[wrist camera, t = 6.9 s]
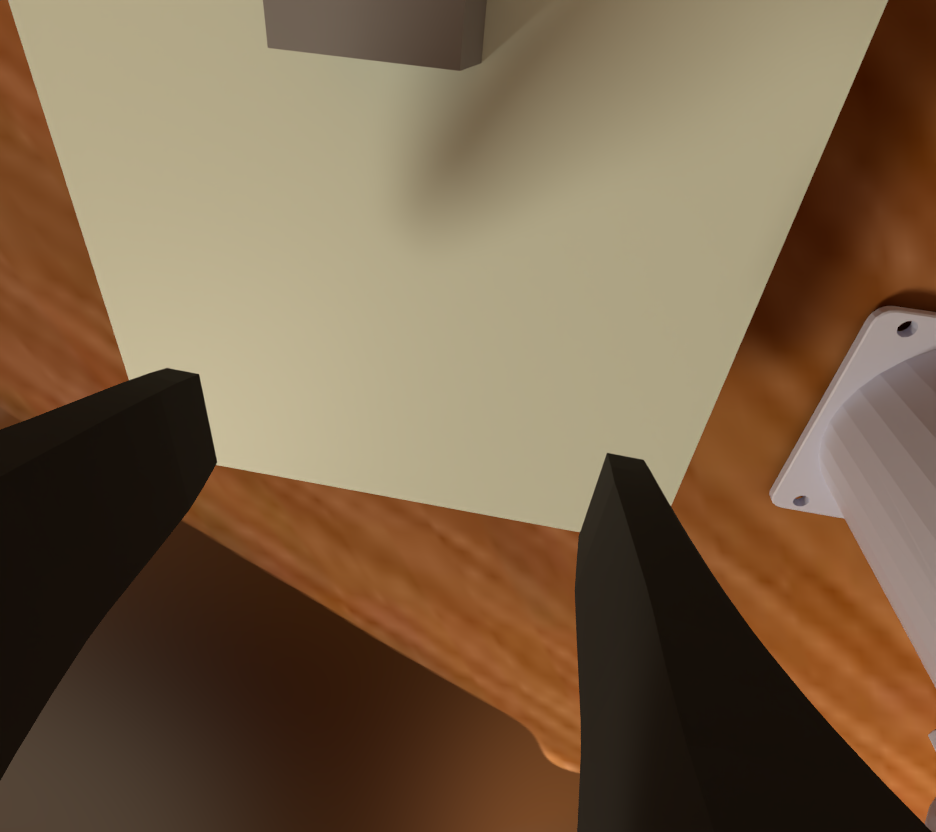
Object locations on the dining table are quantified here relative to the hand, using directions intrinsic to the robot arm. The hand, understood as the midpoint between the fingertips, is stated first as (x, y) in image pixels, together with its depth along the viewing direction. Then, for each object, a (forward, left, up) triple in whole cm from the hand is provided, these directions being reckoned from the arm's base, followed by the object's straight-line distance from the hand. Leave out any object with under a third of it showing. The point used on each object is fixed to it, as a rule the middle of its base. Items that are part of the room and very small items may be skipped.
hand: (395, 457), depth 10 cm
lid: (+1, -2, -5) cm, 5 cm away
